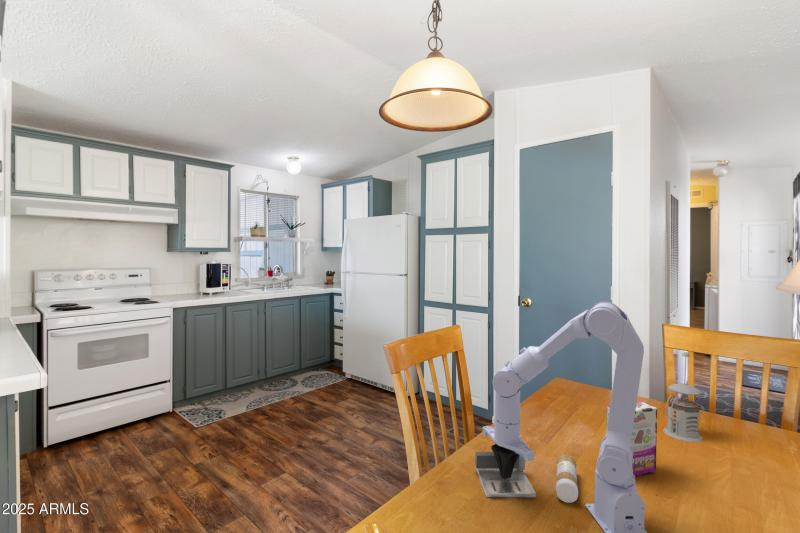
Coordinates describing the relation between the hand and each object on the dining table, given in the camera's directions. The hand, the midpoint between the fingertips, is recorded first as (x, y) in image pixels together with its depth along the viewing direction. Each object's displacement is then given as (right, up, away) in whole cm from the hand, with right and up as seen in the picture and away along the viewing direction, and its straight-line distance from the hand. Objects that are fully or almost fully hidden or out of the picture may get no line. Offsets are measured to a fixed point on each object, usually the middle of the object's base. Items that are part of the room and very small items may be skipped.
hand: (505, 477), depth 94 cm
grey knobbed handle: (0, 0, +5) cm, 5 cm away
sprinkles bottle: (+17, 0, +6) cm, 18 cm away
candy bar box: (+33, -2, +7) cm, 34 cm away
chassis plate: (0, -2, +2) cm, 3 cm away
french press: (+60, -2, +27) cm, 66 cm away
